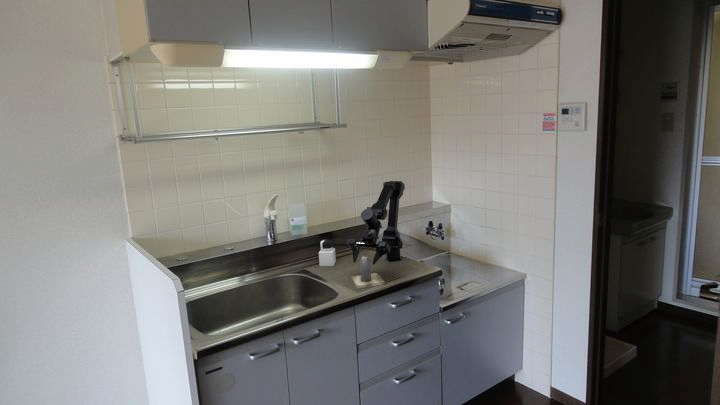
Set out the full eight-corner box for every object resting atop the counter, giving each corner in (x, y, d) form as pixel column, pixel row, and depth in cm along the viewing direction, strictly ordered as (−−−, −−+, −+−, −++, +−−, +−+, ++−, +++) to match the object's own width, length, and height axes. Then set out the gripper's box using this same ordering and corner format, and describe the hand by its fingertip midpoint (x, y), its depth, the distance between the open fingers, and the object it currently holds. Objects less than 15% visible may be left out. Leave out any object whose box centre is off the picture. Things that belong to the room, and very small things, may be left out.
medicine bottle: (336, 261, 233) (334, 238, 231) (333, 266, 227) (332, 242, 224) (322, 261, 234) (320, 238, 232) (319, 266, 227) (317, 242, 225)
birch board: (377, 275, 211) (376, 272, 210) (384, 284, 199) (384, 281, 199) (351, 279, 208) (351, 276, 208) (357, 288, 196) (357, 285, 196)
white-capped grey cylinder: (363, 277, 205) (361, 255, 204) (372, 278, 203) (371, 256, 202) (358, 281, 201) (357, 258, 199) (368, 282, 199) (367, 258, 197)
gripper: (347, 221, 205) (337, 252, 197) (386, 223, 197) (378, 256, 189) (355, 234, 213) (346, 264, 206) (394, 236, 205) (386, 268, 198)
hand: (363, 263), depth 199 cm, fingers open, 9 cm apart
